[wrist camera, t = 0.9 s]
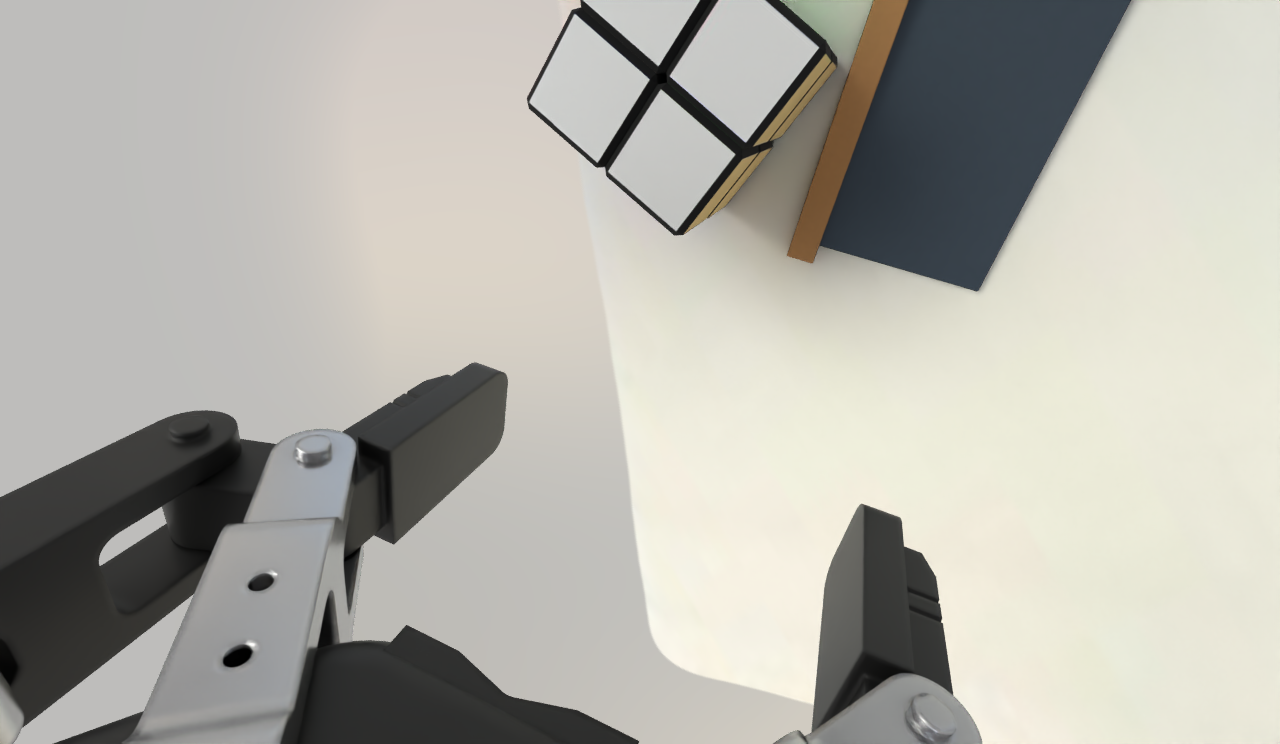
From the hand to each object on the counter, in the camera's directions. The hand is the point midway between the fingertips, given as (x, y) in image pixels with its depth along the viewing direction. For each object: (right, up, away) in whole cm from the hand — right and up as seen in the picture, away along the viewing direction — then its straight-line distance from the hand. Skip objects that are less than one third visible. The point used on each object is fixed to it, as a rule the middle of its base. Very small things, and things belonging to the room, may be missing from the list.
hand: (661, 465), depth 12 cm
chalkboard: (+16, +17, +17) cm, 29 cm away
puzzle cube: (+4, +19, +21) cm, 28 cm away
